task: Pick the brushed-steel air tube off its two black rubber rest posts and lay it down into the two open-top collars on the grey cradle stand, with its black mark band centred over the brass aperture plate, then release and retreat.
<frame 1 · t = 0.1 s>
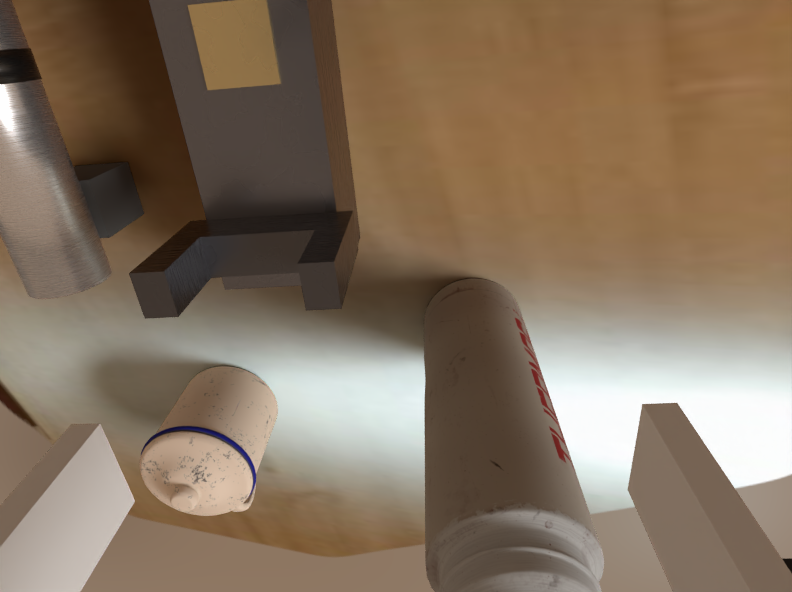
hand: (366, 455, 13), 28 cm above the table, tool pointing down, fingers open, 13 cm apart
air tube: (14, 65, 31), point 5 cm above the table, touching rest posts
thermos bottle: (471, 319, 43), on the table
teacup with lid: (240, 412, 49), on the table
grey cradle stand: (275, 41, 34), on the table
rest posts: (66, 60, 35), on the table
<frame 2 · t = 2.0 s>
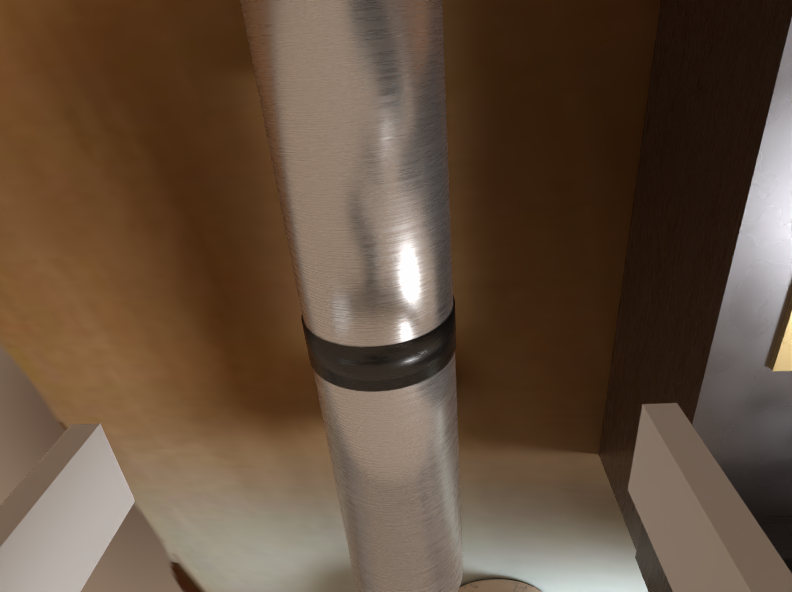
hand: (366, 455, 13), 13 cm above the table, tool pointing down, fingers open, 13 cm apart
air tube: (392, 290, 20), point 5 cm above the table, tilted 6°, touching rest posts
grey cradle stand: (723, 221, 23), on the table
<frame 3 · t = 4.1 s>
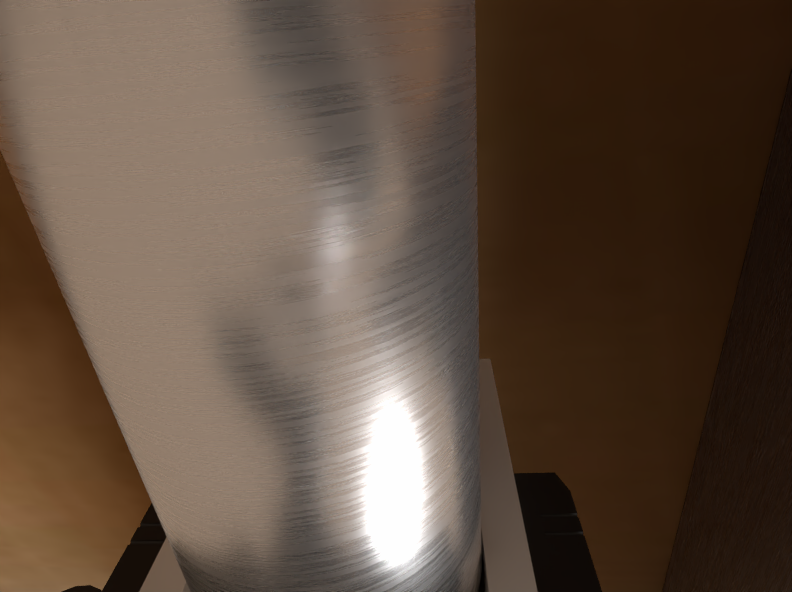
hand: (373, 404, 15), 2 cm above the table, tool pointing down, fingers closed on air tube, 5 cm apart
air tube: (366, 479, 12), point 5 cm above the table, touching gripper, rest posts
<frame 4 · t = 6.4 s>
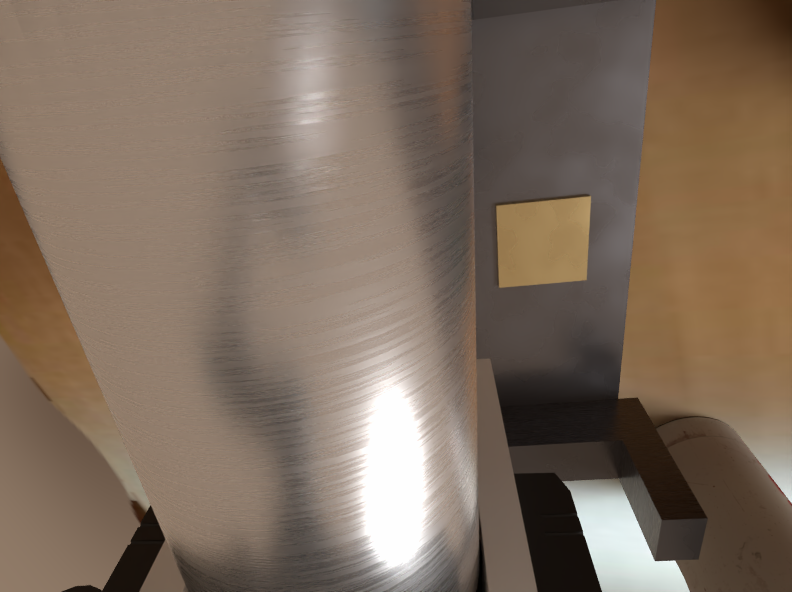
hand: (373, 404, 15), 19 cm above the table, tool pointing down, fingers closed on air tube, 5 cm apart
air tube: (364, 480, 12), point 21 cm above the table, touching gripper
thermos bottle: (684, 455, 39), on the table
grey cradle stand: (513, 192, 30), on the table
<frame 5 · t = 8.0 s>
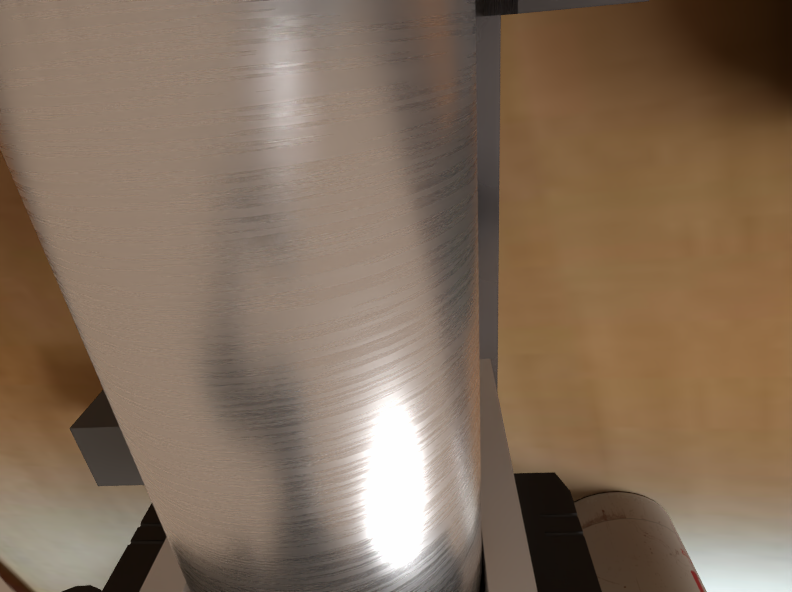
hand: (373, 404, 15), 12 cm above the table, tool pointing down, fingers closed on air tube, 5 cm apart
air tube: (366, 481, 12), point 15 cm above the table, touching gripper
thermos bottle: (607, 530, 35), on the table
grey cradle stand: (394, 238, 25), on the table
rest posts: (113, 255, 27), on the table
when the fingers open (10 cm above the table, at t = 9.2 s): air tube drops 1 cm, resting on grey cradle stand.
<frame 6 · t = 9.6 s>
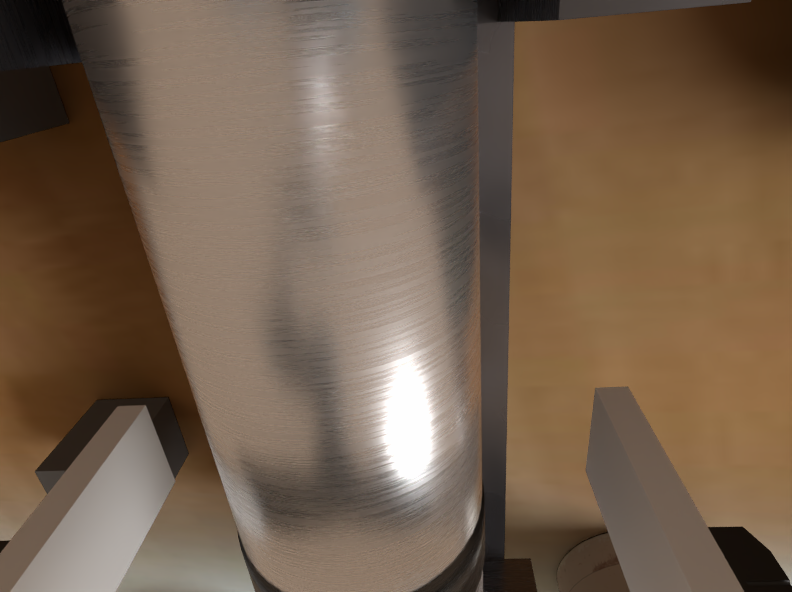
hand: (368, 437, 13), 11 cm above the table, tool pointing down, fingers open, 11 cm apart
air tube: (370, 435, 13), point 11 cm above the table, touching grey cradle stand
thermos bottle: (620, 569, 32), on the table
grey cradle stand: (391, 262, 23), on the table
rest posts: (84, 280, 24), on the table
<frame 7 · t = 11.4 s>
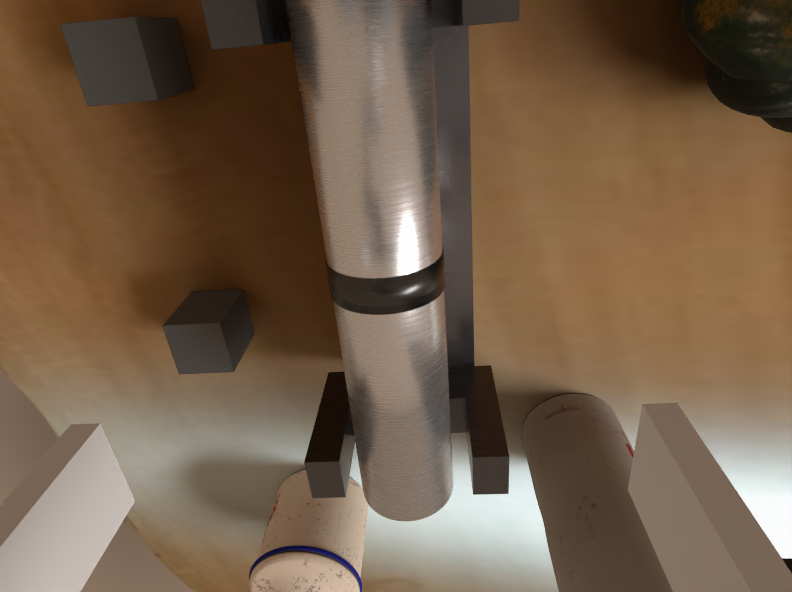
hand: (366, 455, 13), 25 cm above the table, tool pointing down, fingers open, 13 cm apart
air tube: (394, 248, 25), point 11 cm above the table, tilted 5°, touching grey cradle stand
thermos bottle: (568, 428, 44), on the table
teacup with lid: (328, 508, 50), on the table
grey cradle stand: (401, 185, 35), on the table
rest posts: (192, 200, 36), on the table
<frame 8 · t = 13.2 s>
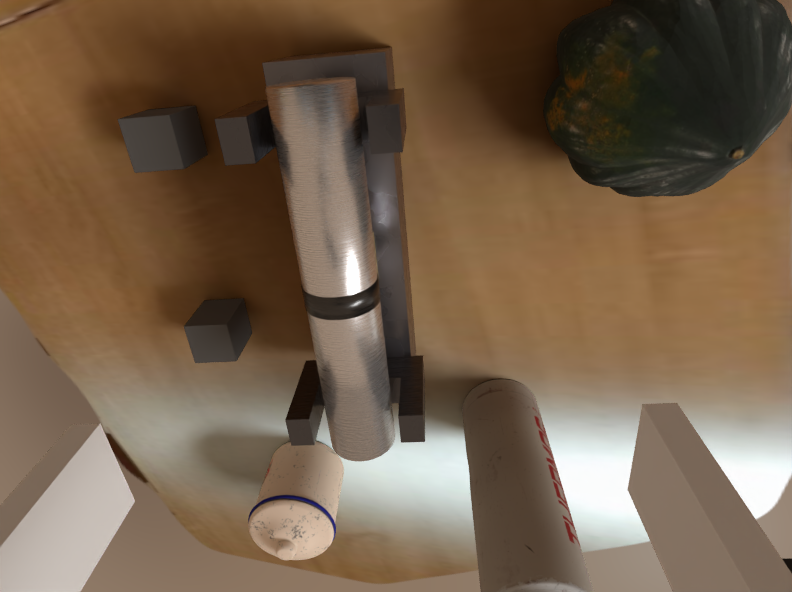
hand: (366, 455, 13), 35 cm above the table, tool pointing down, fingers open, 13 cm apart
squash: (631, 81, 40), on the table
air tube: (345, 274, 37), point 11 cm above the table, touching grey cradle stand
thermos bottle: (499, 407, 56), on the table
teacup with lid: (312, 472, 62), on the table
grey cradle stand: (361, 222, 47), on the table
rest posts: (205, 232, 48), on the table
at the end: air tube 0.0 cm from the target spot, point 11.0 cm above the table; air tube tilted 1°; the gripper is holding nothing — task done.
